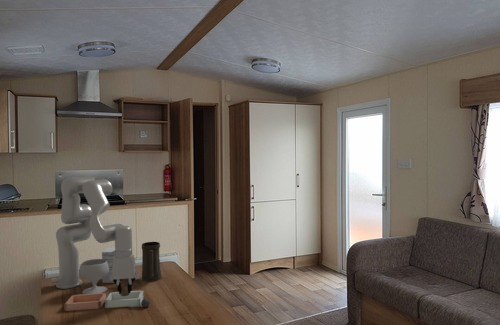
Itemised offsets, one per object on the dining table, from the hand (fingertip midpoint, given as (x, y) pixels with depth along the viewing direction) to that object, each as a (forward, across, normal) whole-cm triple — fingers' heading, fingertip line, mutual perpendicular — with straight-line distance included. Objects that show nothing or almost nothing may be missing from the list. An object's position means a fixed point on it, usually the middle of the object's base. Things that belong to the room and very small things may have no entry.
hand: (124, 292), depth 178 cm
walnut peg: (+1, 0, 0) cm, 1 cm away
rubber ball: (+3, +10, -6) cm, 12 cm away
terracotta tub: (+5, -17, 0) cm, 18 cm away
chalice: (+5, -18, +19) cm, 27 cm away
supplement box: (+5, -12, +36) cm, 38 cm away
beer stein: (+5, +9, +32) cm, 34 cm away
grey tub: (+5, 0, 0) cm, 5 cm away
